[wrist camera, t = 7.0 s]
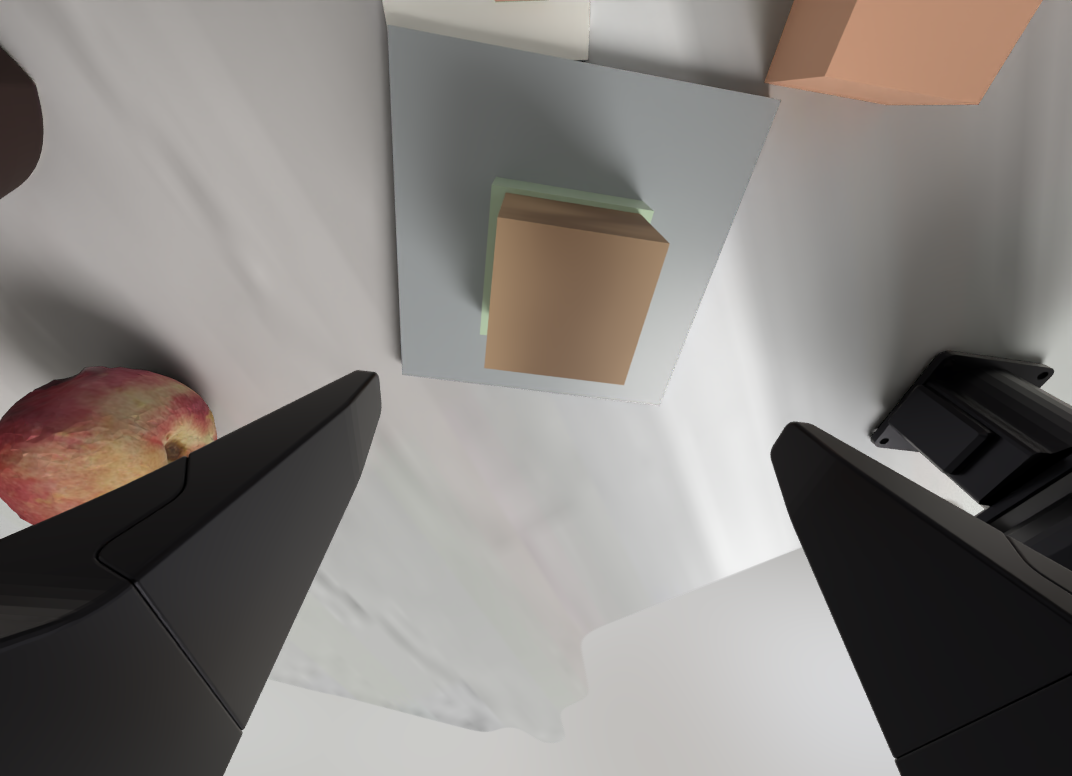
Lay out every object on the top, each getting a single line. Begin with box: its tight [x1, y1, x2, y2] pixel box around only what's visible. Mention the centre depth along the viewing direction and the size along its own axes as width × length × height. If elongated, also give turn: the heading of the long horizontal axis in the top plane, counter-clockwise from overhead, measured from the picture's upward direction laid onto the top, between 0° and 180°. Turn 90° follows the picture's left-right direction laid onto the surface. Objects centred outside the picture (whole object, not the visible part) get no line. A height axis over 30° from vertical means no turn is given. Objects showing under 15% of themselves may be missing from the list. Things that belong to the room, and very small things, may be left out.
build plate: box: [387, 25, 781, 406], centre depth 18 cm, size 14×14×3 cm
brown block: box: [484, 193, 670, 385], centre depth 15 cm, size 5×5×4 cm
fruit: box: [0, 366, 217, 525], centre depth 20 cm, size 8×8×8 cm
